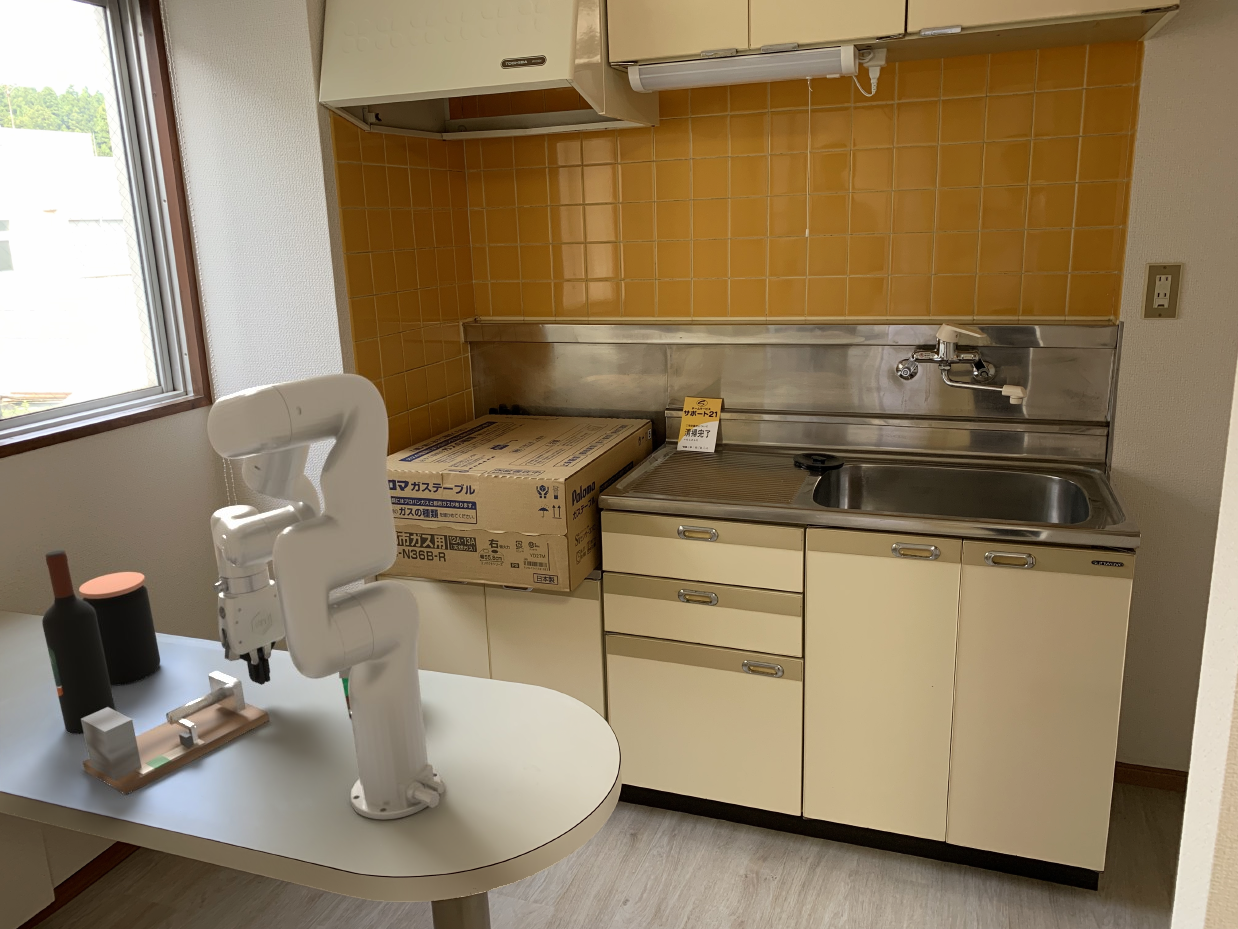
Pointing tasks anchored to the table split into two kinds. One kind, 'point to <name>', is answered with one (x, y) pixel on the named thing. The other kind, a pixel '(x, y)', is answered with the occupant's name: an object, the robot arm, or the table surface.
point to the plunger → (210, 701)
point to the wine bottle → (75, 649)
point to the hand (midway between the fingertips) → (260, 680)
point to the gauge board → (156, 743)
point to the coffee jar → (124, 625)
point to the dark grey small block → (186, 739)
